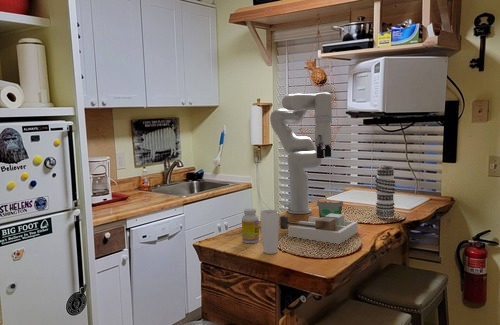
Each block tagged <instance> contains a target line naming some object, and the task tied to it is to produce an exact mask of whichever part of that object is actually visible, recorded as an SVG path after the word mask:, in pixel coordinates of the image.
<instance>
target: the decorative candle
mask: <svg viewBox="0 0 500 325" xmlns="http://www.w3.org/2000/svg"><path fill="white" fill-rule="evenodd" d="M394 170H395V168H393V166H392V165H388V164H387V165H386V164H385V165H383V164H382V165H378V167H377V168H376V171H377V172H376V177H374V179H375V180H374V181H375V183H376V184H375V190H376V191H375V193H376V202H375V205H376V206H375V208H376V209H375V216H379V217H387V218H388V217H393V216H394V217H395V199H394V195H395V193H396V192H395V190H396V189H395V188H394V187H395V186H396V181H395V180H394V179H395V175H394V172H395V171H394Z"/></svg>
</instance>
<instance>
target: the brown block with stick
mask: <svg viewBox="0 0 500 325" xmlns="http://www.w3.org/2000/svg"><path fill="white" fill-rule="evenodd" d="M288 219H289V217H288V216H287V215H279V230H280V229H281V230H288V226H289V225H291V226H298V227H299V226H307V227H315V229H320V230H327V231H335V232H336V225H335V219H334V218H326V217H321V218H320V217H319V219H317V220H315V225H307V224H299V222H289V221H288Z"/></svg>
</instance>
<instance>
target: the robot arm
mask: <svg viewBox="0 0 500 325" xmlns="http://www.w3.org/2000/svg"><path fill="white" fill-rule="evenodd" d="M281 104H282V107H283V108H279V109H275V110H273V111H272V112H271V113H270V116H269V120H270V125H271V128H272V130H273V131H274V133H275V134H276V135H277V137H278V139H279V141H280V144H281V145H282V147H283V149H284V152H286V154H288V156H287V165H288V171H289V197H290V198H289V202H284V203H283V206H284V208H287V210H286V211H287V213H289V214H291V215H293V214H294V215H307V214H310V213H312V209H311V208H310V207H309V205H310V204H309V199H310V198H309V178H308V175H307V173H306V172H305V170H315V169H318V168H319V167H321V164H322V159H324V158H331V157H332V126H331V124H332V123H333V120H332V119H333V116H332V114H333V113H332V94H331V93H330V92H317V93H290V94H286V95H285V96H283V98H282V100H281ZM308 111H314V123H315V126H314V141H313V140H312V138H311V137H309V136H297V135H296V134H295V132H294V130H293V129H292V128H291V127H289V126H288V125H298V124H300V123H301V122H302V121H303V119H304V117H305V115H306V114H307V112H308Z"/></svg>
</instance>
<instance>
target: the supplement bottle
mask: <svg viewBox="0 0 500 325" xmlns="http://www.w3.org/2000/svg"><path fill="white" fill-rule="evenodd" d="M243 212H244V213H243V216H242V217H241V236H242V237H241V238H242V239H241V240H242V242H243V243H244V242H245V244H255V243H258V242H259V240H260V230H259V228H260V227H259V226H260V225H259V223H260V222H259V216H257V214H256V213H257V209H255V208H245V209H243Z"/></svg>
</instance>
